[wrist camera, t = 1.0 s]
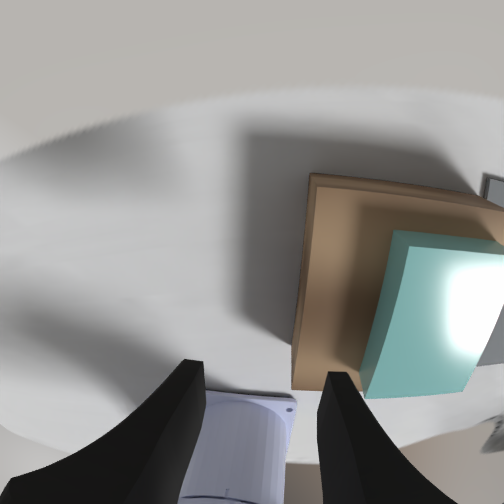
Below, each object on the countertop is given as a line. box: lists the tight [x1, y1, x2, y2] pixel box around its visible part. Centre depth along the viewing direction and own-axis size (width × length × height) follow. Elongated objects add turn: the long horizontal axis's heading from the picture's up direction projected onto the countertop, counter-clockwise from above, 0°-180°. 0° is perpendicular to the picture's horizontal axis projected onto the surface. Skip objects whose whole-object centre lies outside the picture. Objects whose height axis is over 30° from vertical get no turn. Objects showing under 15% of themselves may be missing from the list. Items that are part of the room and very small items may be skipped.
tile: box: [359, 230, 504, 399], centre depth 13 cm, size 8×6×2 cm
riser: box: [291, 173, 504, 391], centre depth 16 cm, size 11×10×4 cm
